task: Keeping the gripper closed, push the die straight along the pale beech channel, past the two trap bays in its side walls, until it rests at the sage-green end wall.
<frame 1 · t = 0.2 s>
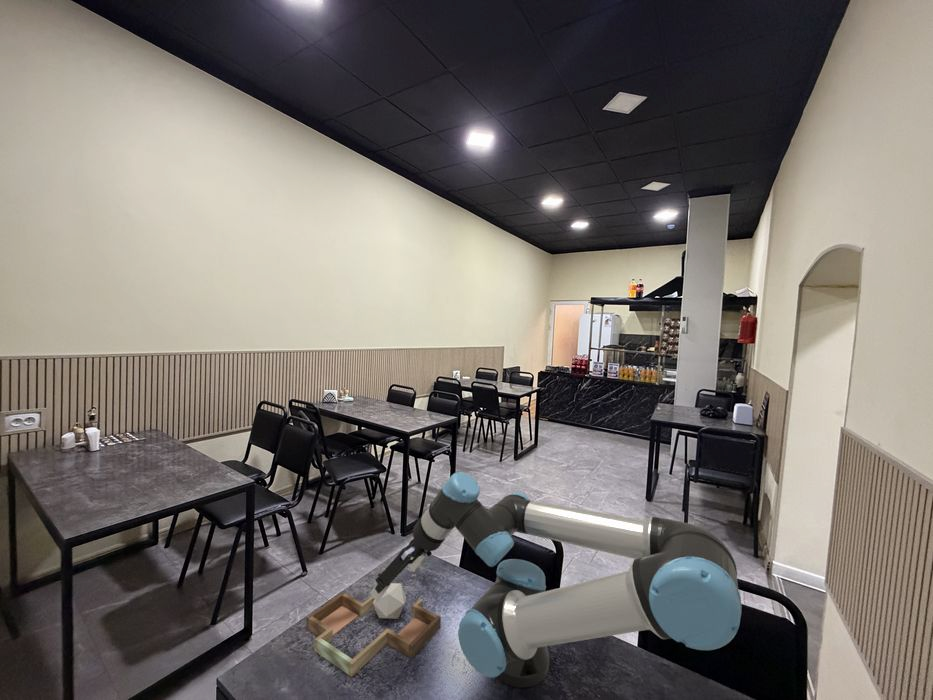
hand: (393, 581, 97), 16 cm above the table, tool tilted 35°, fingers open, 13 cm apart
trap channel: (373, 627, 102), on the table
die: (389, 615, 107), on the table
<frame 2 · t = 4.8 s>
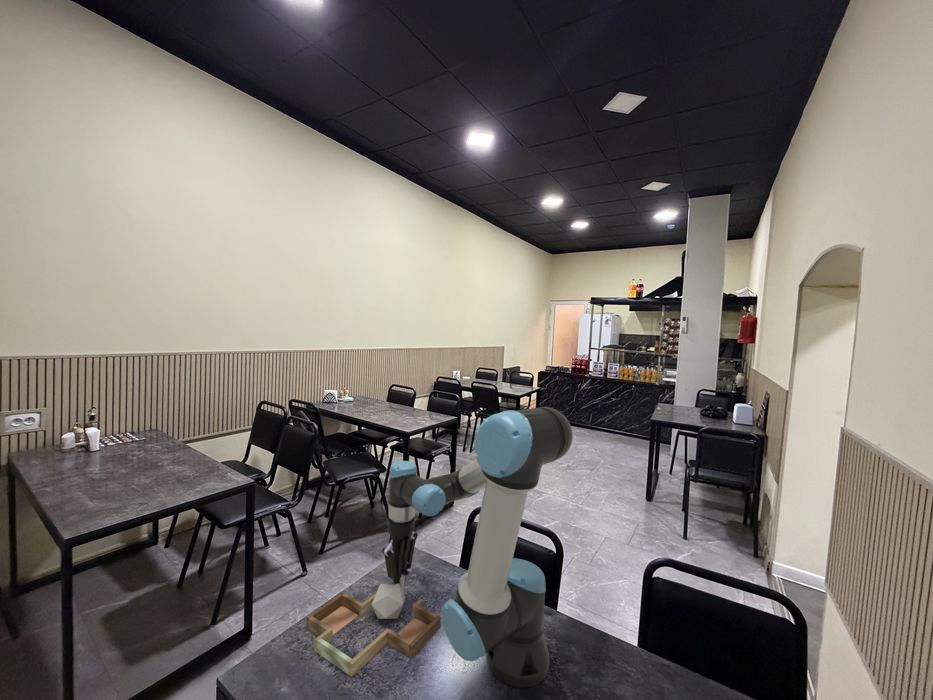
hand: (398, 596, 111), 3 cm above the table, tool pointing down, fingers closed
die: (388, 615, 107), on the table, touching gripper
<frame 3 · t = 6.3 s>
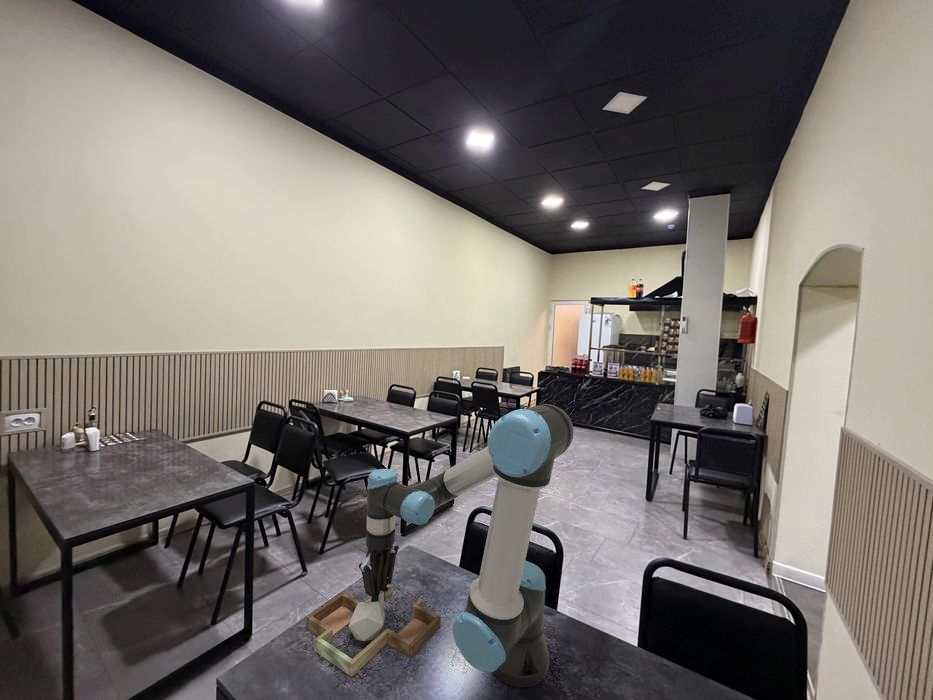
hand: (377, 615, 103), 3 cm above the table, tool pointing down, fingers closed
die: (367, 634, 100), on the table, touching gripper
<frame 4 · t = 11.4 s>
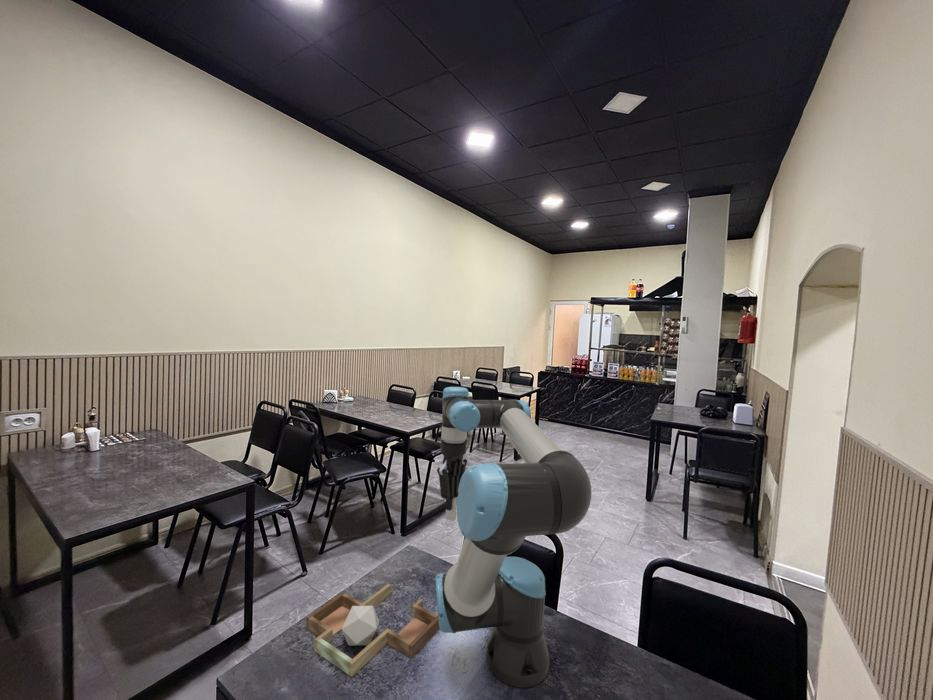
hand: (450, 519, 113), 24 cm above the table, tool pointing down, fingers closed
die: (360, 641, 98), on the table
at the end: die inside the target area (3.0 cm from its centre), on the table; die tilted 2°; the gripper is holding nothing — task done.
